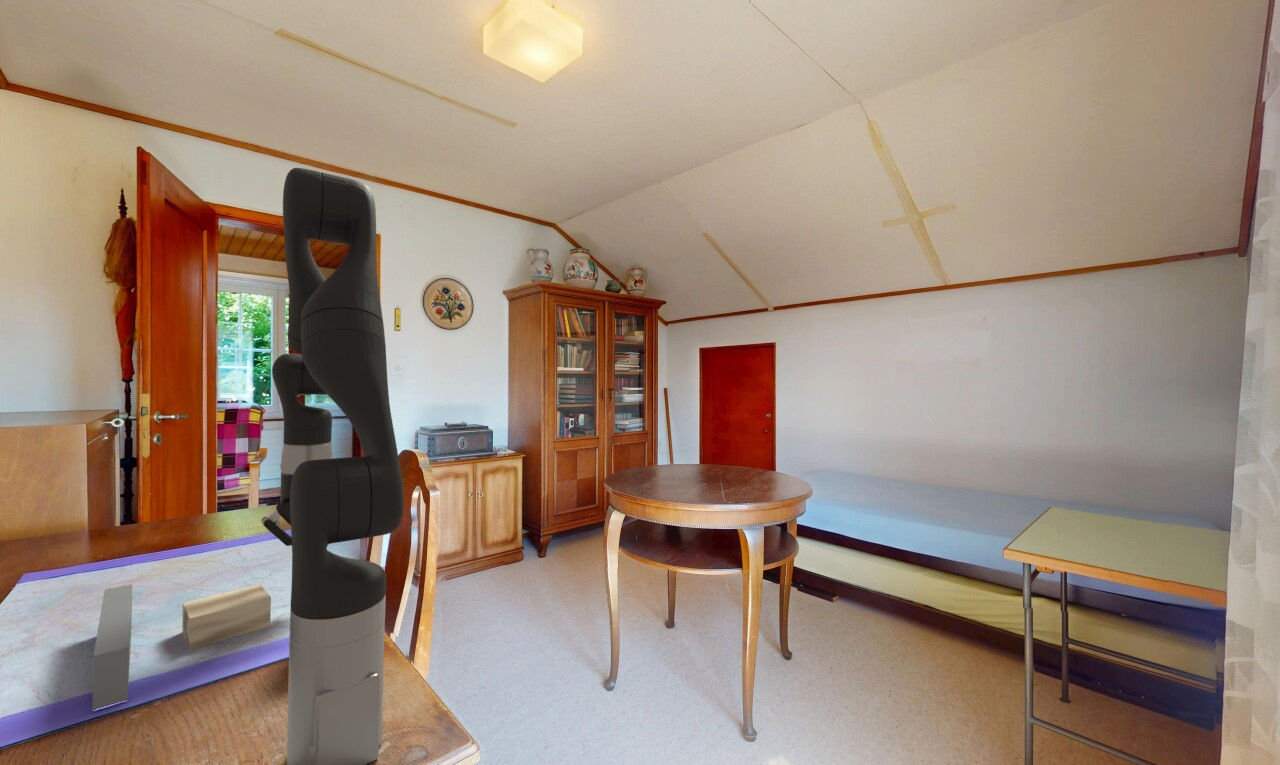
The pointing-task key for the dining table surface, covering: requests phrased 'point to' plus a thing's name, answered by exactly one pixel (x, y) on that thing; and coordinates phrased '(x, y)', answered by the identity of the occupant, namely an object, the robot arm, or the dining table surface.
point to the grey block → (113, 648)
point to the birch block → (225, 616)
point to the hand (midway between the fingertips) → (304, 565)
